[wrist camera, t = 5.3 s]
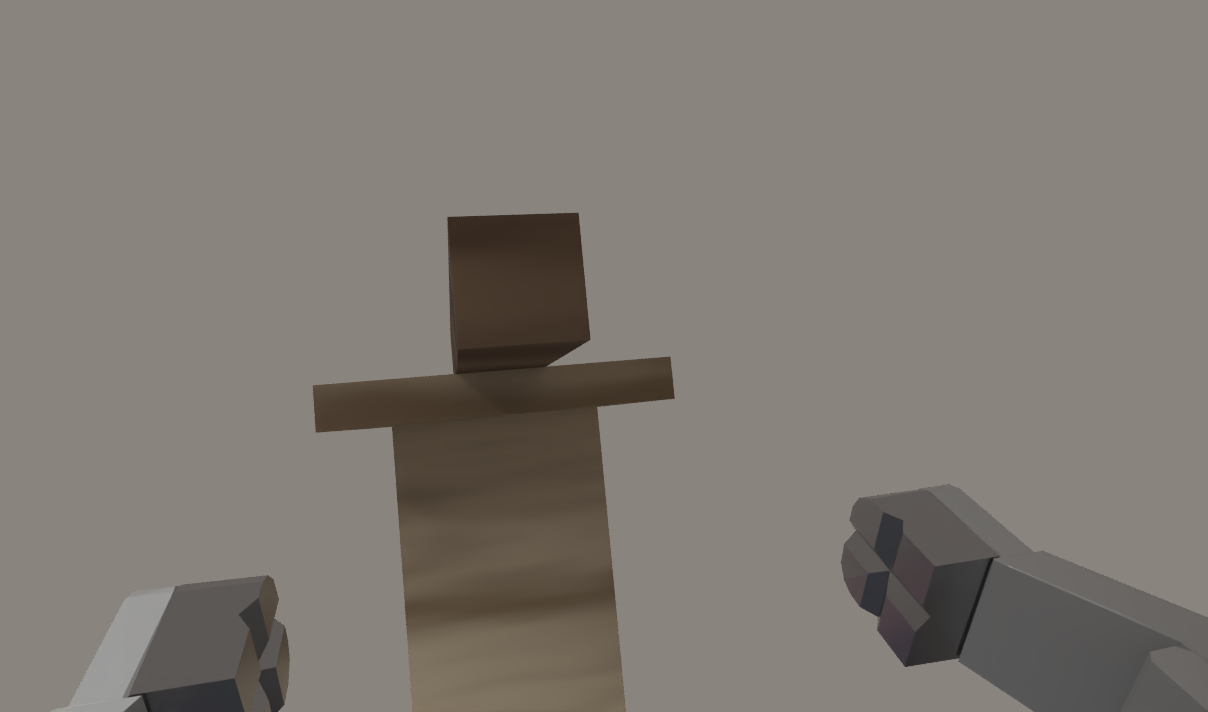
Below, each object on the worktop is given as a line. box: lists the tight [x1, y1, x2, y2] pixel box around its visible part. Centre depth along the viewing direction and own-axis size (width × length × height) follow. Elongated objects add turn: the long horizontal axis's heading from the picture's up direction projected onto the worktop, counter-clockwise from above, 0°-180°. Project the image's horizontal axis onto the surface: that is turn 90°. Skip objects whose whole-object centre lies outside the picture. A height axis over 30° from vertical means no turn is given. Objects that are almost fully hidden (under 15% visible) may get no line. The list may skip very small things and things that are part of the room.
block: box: [448, 213, 590, 374], centre depth 26 cm, size 22×3×3 cm, turn 13°
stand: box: [313, 357, 674, 712], centre depth 30 cm, size 16×12×26 cm
